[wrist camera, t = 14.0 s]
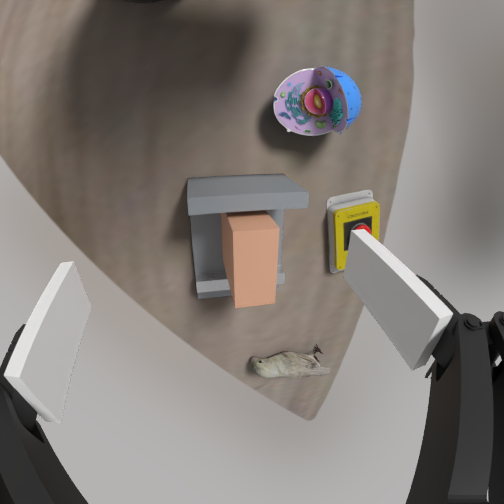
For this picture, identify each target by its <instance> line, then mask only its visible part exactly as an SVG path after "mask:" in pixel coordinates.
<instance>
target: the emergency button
mask: <svg viewBox="0 0 504 504" xmlns="http://www.w3.org/2000/svg"><path fill="white" fill-rule="evenodd" d="M326 207H327V222H328V241H329V268H330V272H331V273H336V272H340V271H343V270H345V265H346V259H347V254H348V248H349V242H350V235H351V230H360V229H365V230H366V231H367V232H368V233H369V234H370V235H372V236H373V237H374V238H375V239H376V240H377V241H378V242H379V221H380V206H379V204H378V203H377V202H376V201H374V200H373V194H372V191H371V190H363V191H359V192H354V193H349V194H344V195H339V196H335V197H331V198H329V199H328V200H327V203H326Z"/></svg>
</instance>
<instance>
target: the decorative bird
mask: <svg viewBox="0 0 504 504" xmlns="http://www.w3.org/2000/svg"><path fill="white" fill-rule="evenodd" d="M316 346H317V345H316ZM315 348H316V347H315ZM316 349H317V350H315V352H314V353H313V354H311V355H307V354H301V353H297V352H291V351H285V352H282V353H279V354H277V355H274V356H272V357H270V358H267V359H266V358H257V357H251V363H252V368H253V370H254V371H255V372H256V373H257V374H258V375H259V376H261V377H263V378H275V377H285V378H303V377H308V376H311V375H313V376H319V375H327V374H329V373H330V371H329V368H325V367H321V366H320V365H319V364H318V362H319V361H318V359H317V357H316V356H315V353H316V352H320V353H322V352H321V350H320V349H319V348H318V346H317V348H316ZM322 354H323V353H322ZM316 360H317V361H318V362H317V361H316Z"/></svg>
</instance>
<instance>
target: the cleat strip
mask: <svg viewBox="0 0 504 504" xmlns="http://www.w3.org/2000/svg"><path fill="white" fill-rule="evenodd" d="M195 276H196V287H197V293H201V292H211V291H221V290H230V287H229V283H228V279H227V275H226V271H220V272H210V273H199V274H195ZM284 280H285V272H284V270H283V268H282V267H281V265H280V266H277V279H276V284H283V283H284Z"/></svg>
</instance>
